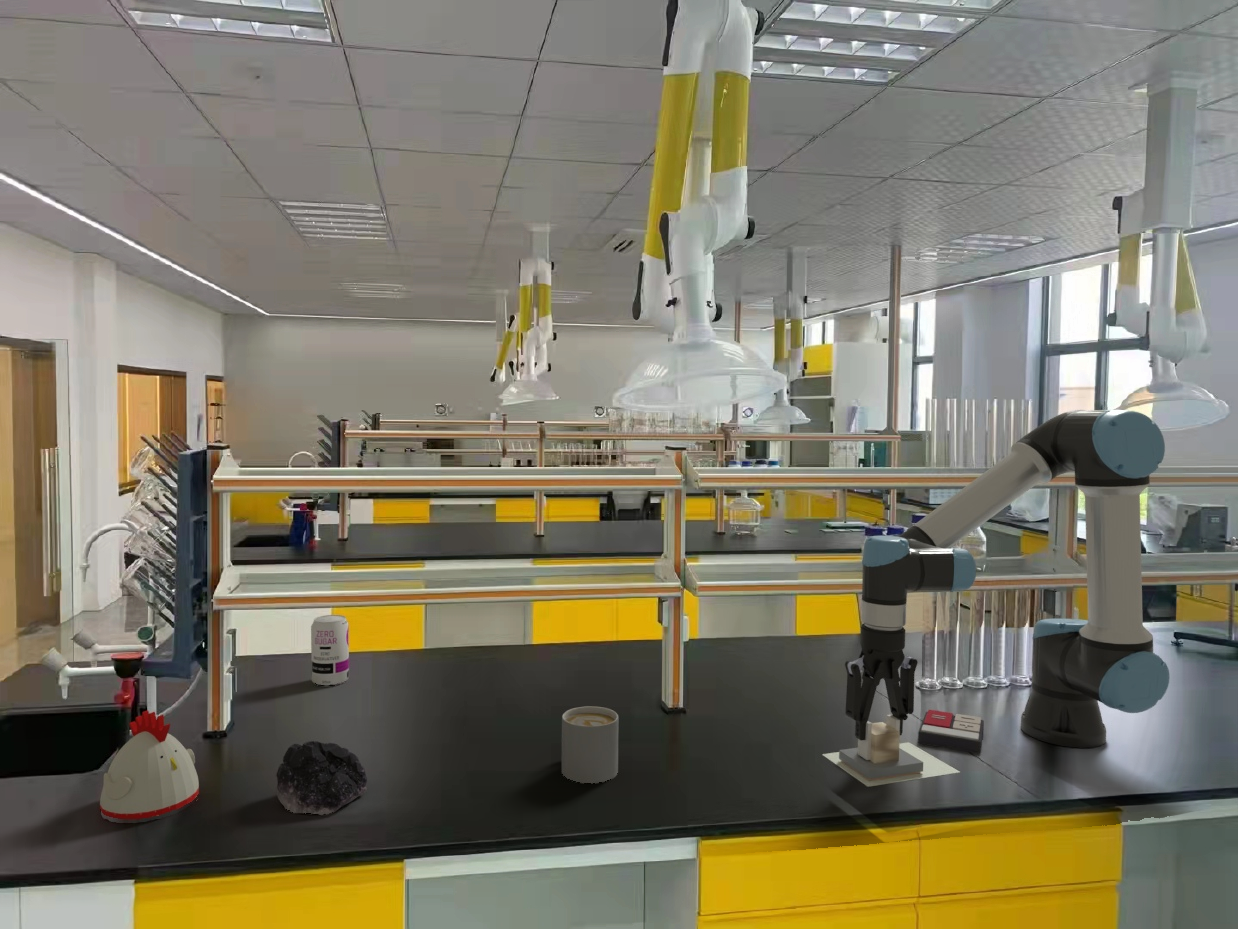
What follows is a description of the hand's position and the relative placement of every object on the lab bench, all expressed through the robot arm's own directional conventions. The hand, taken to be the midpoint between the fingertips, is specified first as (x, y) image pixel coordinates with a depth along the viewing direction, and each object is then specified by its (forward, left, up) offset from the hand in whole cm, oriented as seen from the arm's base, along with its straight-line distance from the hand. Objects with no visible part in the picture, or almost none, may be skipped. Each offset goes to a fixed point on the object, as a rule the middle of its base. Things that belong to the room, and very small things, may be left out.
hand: (878, 755), depth 148 cm
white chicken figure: (+119, -26, -4) cm, 122 cm away
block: (0, 0, 0) cm, 0 cm away
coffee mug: (+48, -18, -4) cm, 51 cm away
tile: (-6, 0, -1) cm, 6 cm away
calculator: (-23, -9, -4) cm, 25 cm away
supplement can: (+92, -82, -4) cm, 123 cm away
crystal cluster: (+93, -20, -4) cm, 95 cm away
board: (-3, -1, -3) cm, 5 cm away
